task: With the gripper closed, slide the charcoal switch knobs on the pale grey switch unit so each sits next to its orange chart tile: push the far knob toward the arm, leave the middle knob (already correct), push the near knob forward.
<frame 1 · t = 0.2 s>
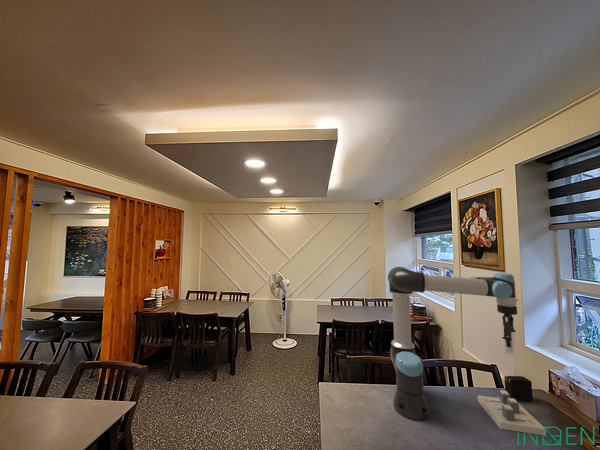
hand: (510, 349, 117), 26 cm above the table, fingers open, 13 cm apart
electronic device: (519, 399, 120), on the table
slider far: (504, 397, 113), point 5 cm above the table, slide at 5.0 cm
switch unit: (508, 416, 107), on the table
slider mid: (512, 405, 108), point 5 cm above the table, slide at 5.0 cm
slider near: (508, 412, 103), point 5 cm above the table, slide at 0.0 cm
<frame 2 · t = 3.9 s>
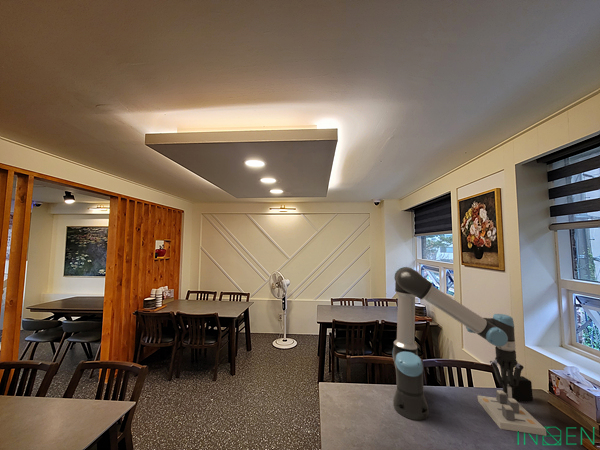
hand: (508, 400, 113), 4 cm above the table, fingers closed
slider far: (501, 396, 114), point 5 cm above the table, slide at 3.6 cm, touching gripper
everything else where it was.
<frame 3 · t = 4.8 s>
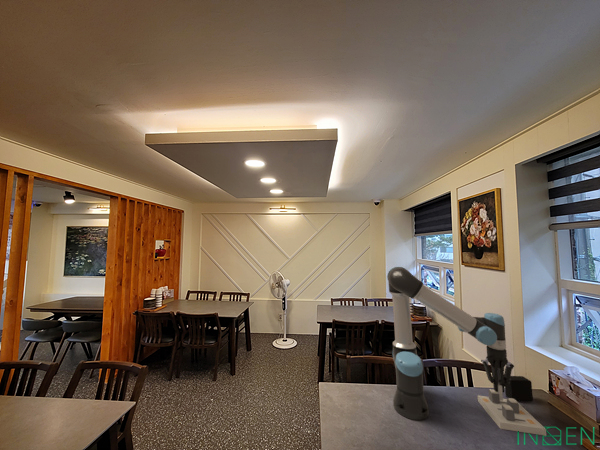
hand: (499, 398, 114), 4 cm above the table, fingers closed
slider far: (494, 395, 114), point 5 cm above the table, slide at 0.5 cm, touching gripper
everything else where it was.
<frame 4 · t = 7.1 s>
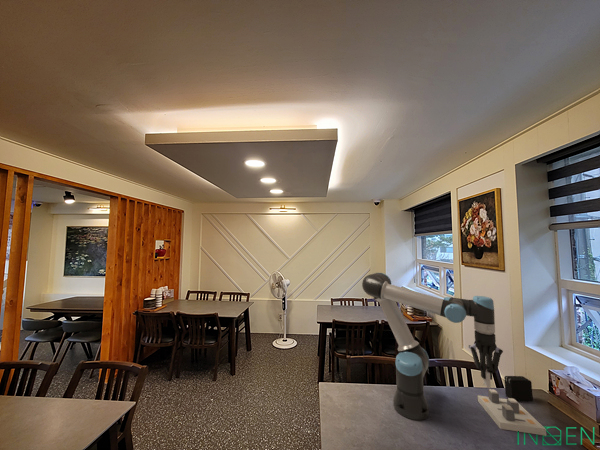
hand: (487, 386, 107), 14 cm above the table, fingers closed
slider far: (493, 395, 114), point 5 cm above the table, slide at 0.4 cm
everything else where it was.
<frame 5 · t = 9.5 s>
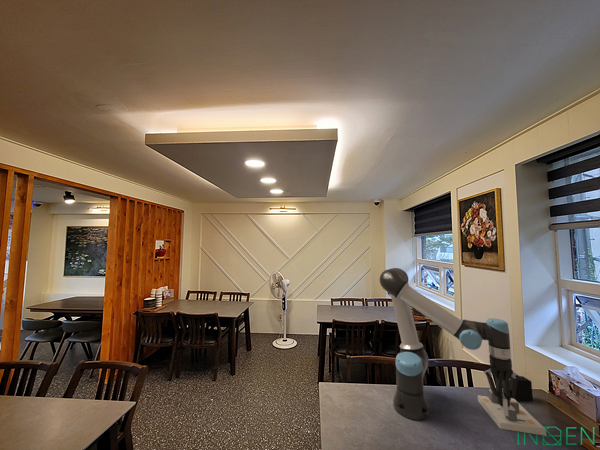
hand: (504, 413, 103), 4 cm above the table, fingers closed
slider near: (510, 412, 103), point 5 cm above the table, slide at 0.8 cm, touching gripper
everything else where it was.
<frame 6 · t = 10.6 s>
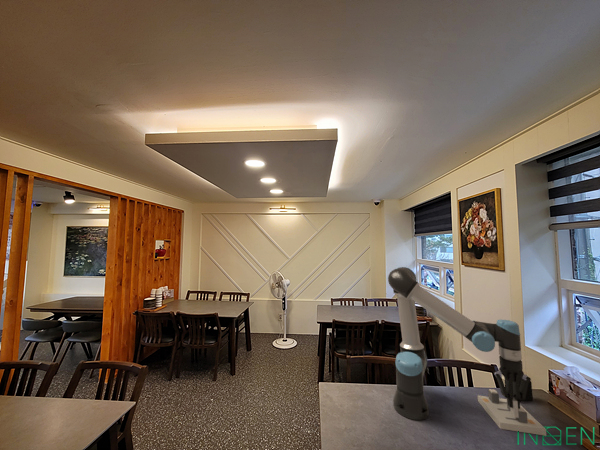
hand: (514, 415, 102), 4 cm above the table, fingers closed
slider near: (520, 414, 102), point 5 cm above the table, slide at 4.5 cm, touching gripper
everything else where it was.
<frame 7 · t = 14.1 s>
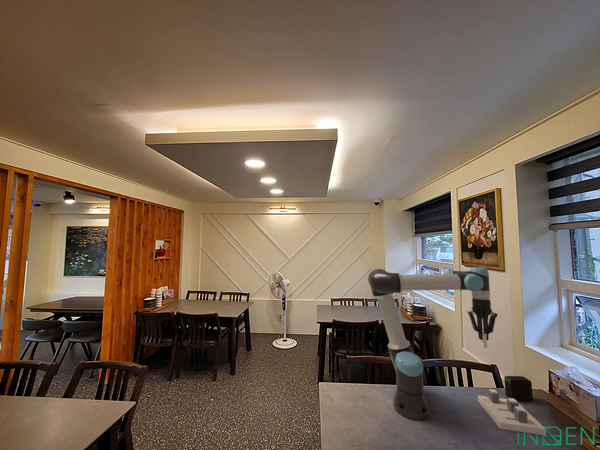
hand: (484, 346, 120), 26 cm above the table, fingers closed
slider near: (520, 414, 102), point 5 cm above the table, slide at 4.5 cm
everything else where it was.
at the end: slider near slide at 4.5 cm; slider far slide at 0.4 cm; slider mid slide at 5.0 cm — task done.
